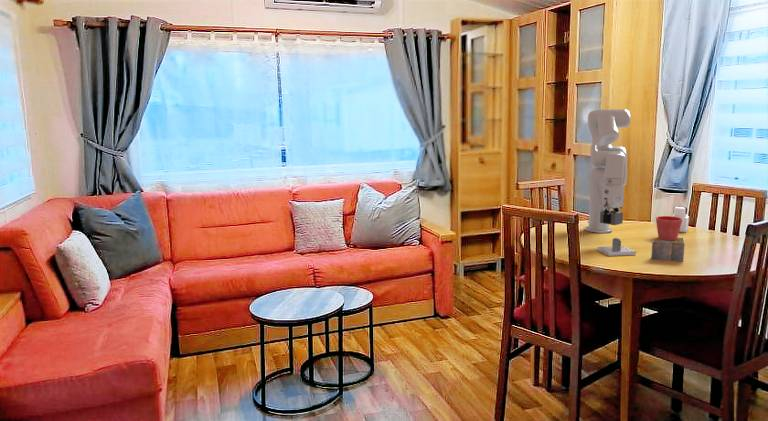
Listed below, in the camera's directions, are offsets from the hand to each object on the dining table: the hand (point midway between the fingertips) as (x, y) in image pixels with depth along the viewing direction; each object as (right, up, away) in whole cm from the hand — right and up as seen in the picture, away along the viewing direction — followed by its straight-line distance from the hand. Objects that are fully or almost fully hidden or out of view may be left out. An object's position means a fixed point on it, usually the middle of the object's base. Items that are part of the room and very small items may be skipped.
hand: (611, 221), depth 252 cm
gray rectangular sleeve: (0, -1, 0) cm, 1 cm away
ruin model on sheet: (+14, -16, -22) cm, 30 cm away
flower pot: (+33, -8, +16) cm, 37 cm away
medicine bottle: (+47, -5, +33) cm, 58 cm away
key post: (-2, -13, -10) cm, 16 cm away
